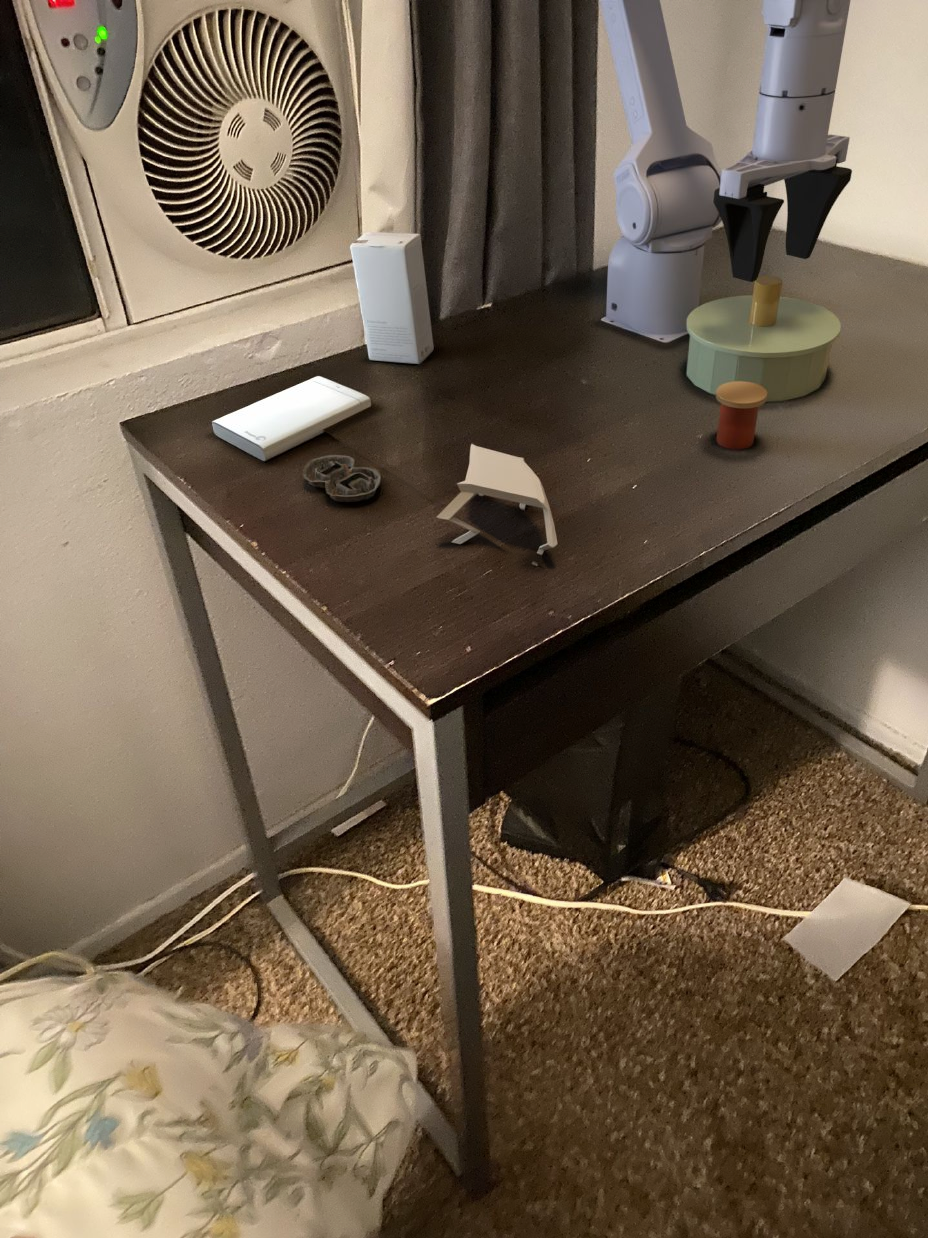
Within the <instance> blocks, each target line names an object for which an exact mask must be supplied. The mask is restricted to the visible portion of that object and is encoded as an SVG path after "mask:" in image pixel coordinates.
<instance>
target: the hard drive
mask: <svg viewBox="0 0 928 1238" xmlns="http://www.w3.org/2000/svg"><path fill="white" fill-rule="evenodd" d="M370 407H372V402H371V398H370V396H368V395H366V394H364V393H362V392H360V391H357V390H355V389H353V388H350V387H347V386H345V385H344V384H340V383H338V382H336V381H333V380H330V379H328V378H326V377H323V376H320V375H317V376H314V377H312V378H310V379H308V380H305V381H302V382H301V383H299V384H296V385H294V386H291V387H289V388H286V389H285V390H282V391H280V392H277V393H275V394H273V395H270V396H268V397H266V398H263V399H261V400H258V401H256V402H254V403H252V404H250V405H248V406H245V407H243V408H240V409H238V410H236V411H233V412H230V413H228V414H226V415H224V416H222V417H220V418H217V419H215V420H212V421H211V425H212V426H211V427H212V429H213V433H214V435H215V436H217V437H218V438H220V439H222V440H223V441H226V442H227V443H229V444H231V445H233V446H235V447H237V448H238V449H240V450H242V451H244V452H246V453H247V454H249V455H251V456H253V457H254V458H257V459H259V460H260V461H263V462H266V461H268V460H270V459H273V458H274V457H277V456H279V455H281V454H283V453H285V452H287V451H289V450H291V449H293V448H295V447H298V446H299V445H301V444H303V443H306V442H308V441H310V440H312V439H314V438H316V437H317V436H320V435H322V434H324V433H325V432H326V430H325V429H327V428H330V427H331V426H334V425H335V424H337V423H339V422H342V421H343V420H346V419H347V418H350V417H352V416H353V415H356V414H358V413H360V412H362V411H364V410H366V409H369V408H370Z"/></svg>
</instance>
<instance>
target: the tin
mask: <svg viewBox="0 0 928 1238" xmlns="http://www.w3.org/2000/svg"><path fill="white" fill-rule="evenodd" d="M832 347H833V343H832V344H831V345H829V346H828V347H826V348H824V349H821V350H819V351H816V352H813V353H809V354H804V355H799V356H792V357H779V358H760V357H748V356H740V355H734V354H729V353H725V352H721V351H718V350H714V349H712V348H709V347H707V346H705V345H703V344H701V343H699V342H697V341H696V340H694V339H693V338H692V337H691V336H690V335H689V338H688V347H687V355H686V357H687V358H686V377H687V378H688V379H689V380H690V381H691V383H692V384H693V385H694V386H695V387H697V388H700V389H701V390H702V391H704V392H707V393H708V394H711V395H715V396H716V390H717V388H718V387H719V386H721V385H722V384H725V383H728V382H735V381H743V382H751V383H755V384H758V385H760V386H762V387H763V388H765V389H766V391H767V399H766V401H765V403H766V402H767V403H768V402H784V401H789V400H792V399H797V398H801V397H805V396H807V395H809V394H810V393H813V392H814V391H816V390H818V389H819V388H820V387H821V386H822V384H823V383H824V381H825V380H826V377H827V371H828V366H829V363H830V361H829V360H830V356H831V352H832Z"/></svg>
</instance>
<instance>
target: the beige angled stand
mask: <svg viewBox="0 0 928 1238" xmlns="http://www.w3.org/2000/svg"><path fill="white" fill-rule="evenodd" d="M456 485H457V487H458V489H459V491H460V492H459V493H458V494H457V495H456V496H455V497H454V498H453V500H451V502H449V503H448V504H447V505H446V506H445V508H444V509H442V510H441V511H440V512H439V514H438V515H436V517H435V518H436V519H439V520H441V521H444V522H446V523H450V524H451V525H454V526H457V527H459V528H462V529H464V530H467V532H466V533H464V534H462V535H460V536H458V537H456V538H455V539H453V540H451V543H453V544H457V545H461V544H464V543H465V542H467V541H468V540H470V539H472V538H473V537H476V536H477V535H478V534H479V533H480V532H481V530H479V529H478V528H476V527H474V526H472V525H470V524H468V523H467V522H465V521H463V520H461V519H459V518H457V517H455V516H456V515H458V513H459V512H461V510H462V509H463V508H464V507H466V505H467V504H468V503H469V502H470V501H471V500H473V499H474V497H475V496H477V495H478V496H479V497H484V496H488V497H491V498H496V499H500V500H503V501H509V502H513V503H514V502H515V503H518V504H519V509H520V510H522V511H526V510H525V509H526V505H527V506H532V507H536V508H540V509H542V510H543V519H544V526H545V535H546V543H545V544H542V545H540V546H539V547H538V550H537V552H536V554H538V555H541V556H543V554H544V553H545V551H546V550H547V551H548V550H550V549H553V548H555V547H557V545H558V539H557V533H556V526H555V522H554V519H553V515H552V510H551V508H550V507H551V506H550V504H549V501H548V497H547V495H546V492H545V488H544V486H543V484H542V482H541V480H540V478H539V477H538V476H537V474H536V473H535V472H534V471H533V469H532V468H531V467H529V465H528V464H527V463H526V462H525V458H524V457H521V456H520V457H519V456H515V455H511V454H507V453H504V452H500V451H497V450H493V449H490V448H485V447H481V446H477V445H476V444H474V443H471V444H470V449H469V463H468V468H467V471H466V476H465V479H464V480H463V481H460V482H457V483H456ZM531 564H532V565H534V566H536V567H537V566H539V563H538V562H536V561H534V560H532V562H531Z"/></svg>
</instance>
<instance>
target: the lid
mask: <svg viewBox="0 0 928 1238" xmlns="http://www.w3.org/2000/svg"><path fill="white" fill-rule="evenodd" d="M783 283H784V281H783V278H781V277H778V276H774V275H761V276H758V277H757V280H755V281H753V289H752V294H749V295H747V294H746V295H735V296H727V297H722V298H718V299H715V300H710V301H709V302H705V303H703V304H701V305H699V306H698V307H697V308H696V309H694V310H693V311H692V312H691V313H690V314H689V316H688V317H687V321H686V329H687V331H688V335H689V336H691V337H692V338H693V339H694V340H696V341H697V342H699V343H701V344H703V345H705V346H707V347H709V348H712V349H714V350H718V351H721V352H725V353H729V354H734V355H740V356H748V357H760V358H779V357H792V356H799V355H804V354H809V353H813V352H816V351H819V350H821V349H824V348H826V347H828V346H829V345H831V344H832V345H833V344H834V343H835V342H836V341H837V340H838V338H839V337H840V334H841V330H842V324H841V321H840V319H839V318H838V316H837V315H836V314H835V313H833V312H832V311H830V310H828V309H827V308H825V307H823V306H822V305H818V304H816V303H813V302H810V301H807V300H802V299H798V298H794V297H793V298H792V297H788V296H782V295H781V294H782V288H783Z"/></svg>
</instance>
